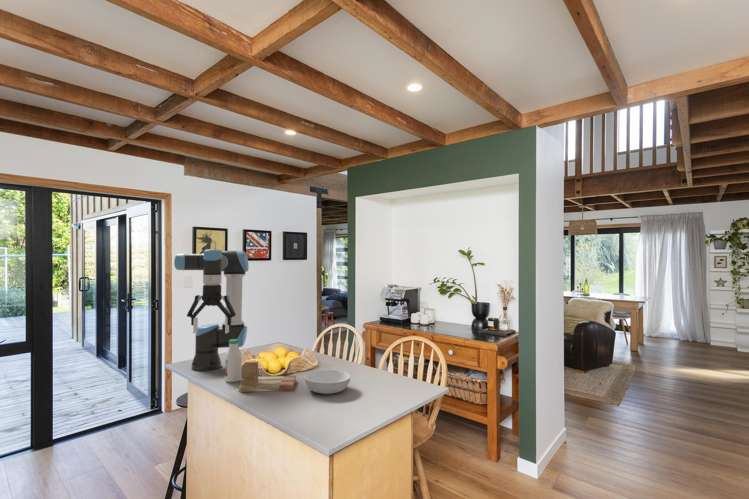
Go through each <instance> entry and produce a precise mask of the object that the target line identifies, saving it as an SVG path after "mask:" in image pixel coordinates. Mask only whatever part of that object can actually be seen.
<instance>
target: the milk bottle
mask: <svg viewBox="0 0 749 499" xmlns="http://www.w3.org/2000/svg"><path fill="white" fill-rule="evenodd" d="M238 344H239V340H238V339H231V340H229V348H228V349H227V352H226V354H225V362H224V363H225V364H224V381H225V382H226V383H237V382H238V383H239V382H241V379H242V365H243V364H242V362H243V361H242V360H243V359H242V358H243V356H242V352H241V350H240V347H238Z"/></svg>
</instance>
